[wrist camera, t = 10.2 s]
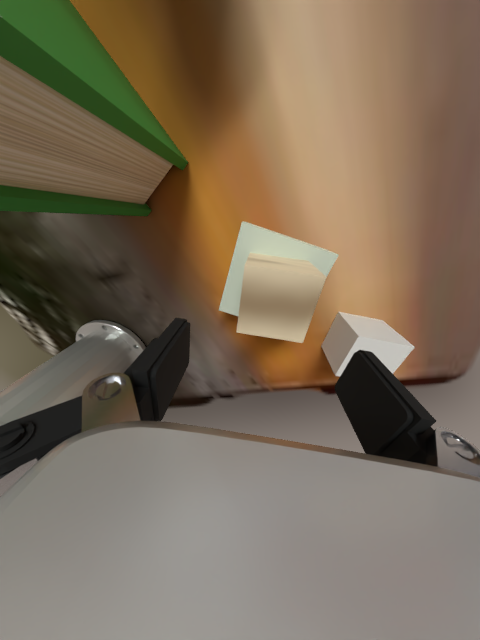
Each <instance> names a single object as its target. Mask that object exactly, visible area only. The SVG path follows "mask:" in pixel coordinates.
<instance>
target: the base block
mask: <svg viewBox="0 0 480 640" xmlns="http://www.w3.org/2000/svg"><path fill="white" fill-rule="evenodd" d="M250 253H256V254H264V255H271V256H278V257H285V258H292V259H300V260H307V261H309V262H310V263H311V264H313V265H314V266H315V267H316V268H317V269H318V270H319V271H320V272H321V273H323V274H324V275H325V276H326V277H327V275H328V273H329V271H330V270H331V268H332V266H333V264H334V262H335V261H336V259H337V257H338V254H336V253H333V252H331V251H329V250H327V249H324V248H321V247H318V246H315V245H312V244H309V243H306V242H303V241H300V240H297V239H294V238H291V237H289V236H286V235H283V234H280V233H277V232H274V231H271V230H268V229H265V228H262V227H259V226H256V225H254V224H251V223H248V222H242V224H241V228H240V232H239V235H238V239H237V243H236V247H235V251H234V254H233V258H232V262H231V266H230V269H229V273H228V277H227V281H226V285H225V288H224V292H223V296H222V300H221V303H220V307H219V311H223V312H226V313H229V314H232V315H235V316H238V315H239V307H240V299H241V291H242V283H243V274H244V266H245V263H246V261H247V258H248V256H249V254H250Z"/></svg>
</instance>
